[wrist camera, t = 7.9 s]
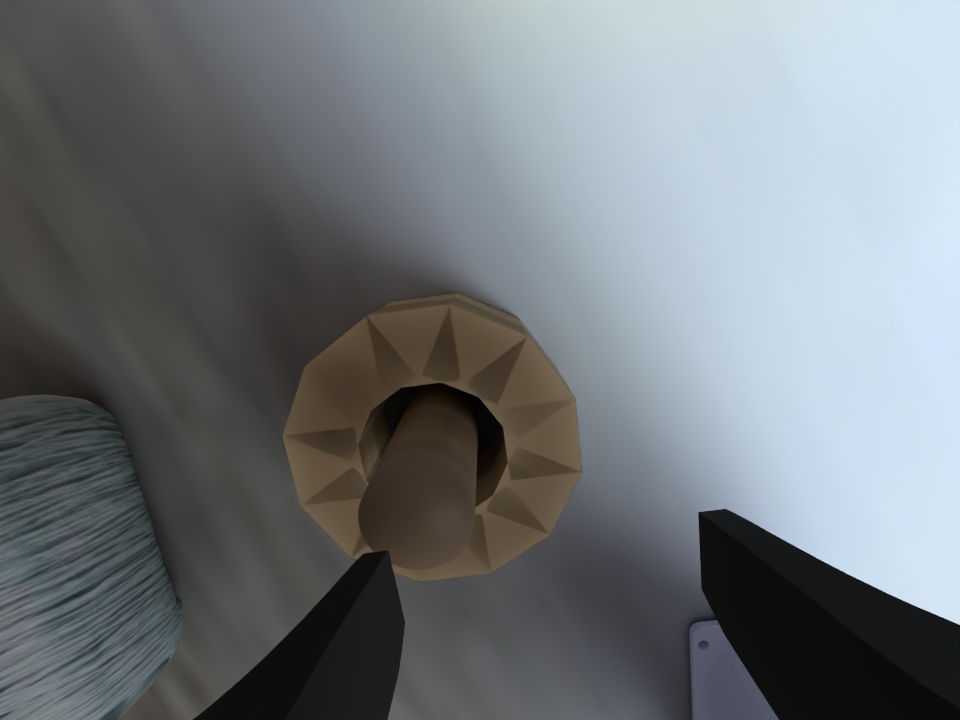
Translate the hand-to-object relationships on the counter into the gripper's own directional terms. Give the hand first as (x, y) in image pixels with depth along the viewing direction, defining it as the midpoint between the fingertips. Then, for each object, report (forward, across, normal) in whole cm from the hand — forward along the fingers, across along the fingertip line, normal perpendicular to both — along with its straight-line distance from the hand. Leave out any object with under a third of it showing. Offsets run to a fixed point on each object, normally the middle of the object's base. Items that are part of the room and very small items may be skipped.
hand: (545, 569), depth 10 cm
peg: (+9, +3, -1) cm, 10 cm away
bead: (+9, +3, -1) cm, 10 cm away
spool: (+10, +19, +2) cm, 22 cm away
